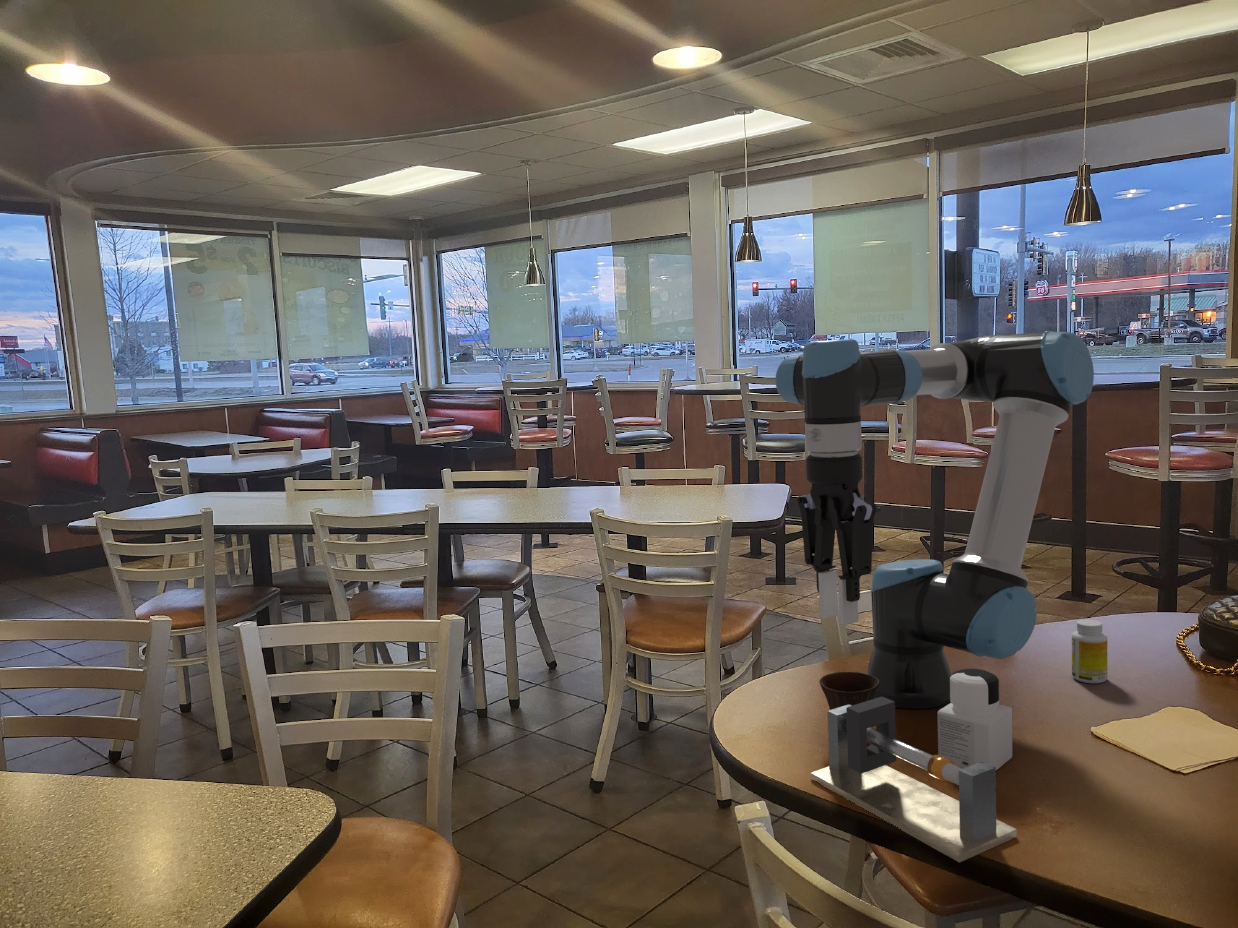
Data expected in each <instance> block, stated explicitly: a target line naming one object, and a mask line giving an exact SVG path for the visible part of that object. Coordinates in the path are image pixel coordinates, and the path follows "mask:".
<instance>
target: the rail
mask: <svg viewBox="0 0 1238 928" xmlns="http://www.w3.org/2000/svg"><path fill="white" fill-rule="evenodd" d="M849 706H851V705H849V704H848V705H845V706H842V707H839V708H835V709H832V710H830V709H829V710H827V734H828V735H827V736H828V737H827V738H828V742H827V743H828V766H826V767H823V768H821V769H818V770H814V771H812V772H810V778H811V777H812V778H813V779H815V780H817V781H818V782H820V783H821V784H823V785H825V786H827V787H829V788H831V789H832V790H833V791H835V792H837V793H838V794H840V795H842V796H843V797H844V798H843V797H842V798H843V799H845V798H846V799H845V800H847V801H849V800H850V801H851V802H850V801H849V802H850V803H852V802H853V803H852V804H854V803H855V804H854V805H855V806H857V807H859V806H860V807H859V808H861V807H862V808H861V809H863V808H864V809H863V810H864V811H866V810H867V811H866V812H868V811H869V813H870V812H871V813H870V814H872V813H873V814H872V815H874V814H875V815H876V816H875V815H874V816H875V817H877V816H878V817H877V818H879V817H880V818H879V819H881V818H882V819H884V820H885V822H886V821H887V822H886V823H888V822H889V823H888V824H890V823H891V824H893V825H894V827H895V826H896V827H895V828H897V827H898V828H897V829H899V830H900V829H901V830H900V831H902V832H904V833H905V834H908V835H909V836H911V837H913V838H915V839H917V840H918V841H921V842H922V843H924V844H926V845H927V846H929V847H931V848H933V849H934V850H936V851H938V852H940V853H942V854H943V855H945V856H947V857H949V858H951V860H954V861H955V862H958V863H962V862H964V861H966V860H969V859H970V858H973V857H975V856H978V855H980V854H982V853H984V852H986V851H988V850H990V849H992V848H996V847H998V846H999V845H1002V844H1004V843H1006V842H1008V841H1011V840H1013V839H1015V838H1017V836H1018V835H1017V833H1018V831H1017V828H1015V827H1013V826H1011V825H1008V824H1007V823H1005V822H1003V821H1001V820H999V819H997V775H996V774H997V772H996V771H997V770H996V767H993V766H991V765H989V764H986V763H984V762H979V763H977V764H974V765H971V766H969V767H966V768H960V767H957V766H955V765H954V763H953V762H952V761H951V760H949V759H946V758H944V757H942V756H940V755H938V754H933V755H932V754H930V753H928V752H926V751H924V750H921V749H919V748H917V747H915V746H912V745H910V744H908V743H906V742H904V741H901V740H899V739H897V738H896V739H895V738H892V737H890V736H888V735H886V734H884V733H881V732H879V731H877V730H876V728H875V729H874V728H873V727H870V728H867V744H870V745H874V746H876V747H878V748H880V749H882V750H884V751H887V752H889V753H891V754H893V755H895V756H896V758H899V759H902V760H904V761H905V762H908V763H910V764H912V765H914V766H917V767H919V768H921V769H923V770H925V771H927V772H928V774H929V775H930V776H931V777H933V778H935V779H938V780H940V781H942V782H945V783H946V782H951V783H953V784H955V785H957V786H958V789H959V790H958V794H959V795H958V797H959V798H958V799H959V800H958V799H955V798H954V797H952V796H949V795H947V794H946V793H943V792H941V791H940V790H937V789H935V788H934V787H931V786H929V785H927V784H926V783H923V782H921V781H919V780H917V779H915V778H913V777H911V776H909V775H906V774H904V773H903V772H901V771H898V770H896V769H894V768H892V767H890V766H888V765H884V766H881V767H879V768H876V769H873V770H870V771H867V772H865V773H862V774H860V773H858V772H856V771H854V770H852V769H851V768H849V767H848V741H847V709H846V707H849ZM833 791H832V792H833ZM838 794H837V795H838ZM840 795H839V796H840ZM882 819H881V820H882ZM884 820H883V821H884ZM891 824H890V825H891ZM893 825H892V826H893Z"/></svg>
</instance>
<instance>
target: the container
mask: <svg viewBox="0 0 1238 928" xmlns="http://www.w3.org/2000/svg"><path fill="white" fill-rule="evenodd" d="M999 680H1000V679H999V678H998V677H997V676H996V675H995V674H994V673H993V672H992V673H991V672H990V671H987V670H984V669H979V668H962V669H959V670H956V671H954V672H951V676H950V701H951V702H950V703H947V704H946V705H944V707H942V708H940V709H939V710H938V711H937V749H938V750H937V751H938V752H937V755H940V756H942V757H944V758H946V759H949V760H951V761H952V762H953V763H954V765H955V766H957V767H959V768H962V769H963V768H966V767H969V766H971V765H974V764H977V763H979V762H984V763H986V764H989V765H991V766H993V767H996V771H997V770H998V769H1000V768H1001V767H1003V765H1004V764H1006V763H1007V762H1008V761H1010V760H1011V759H1012V758H1013V709H1012V707H1011V706H1008V705H1003V704H1000V685H999V684H1000V681H999Z"/></svg>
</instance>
